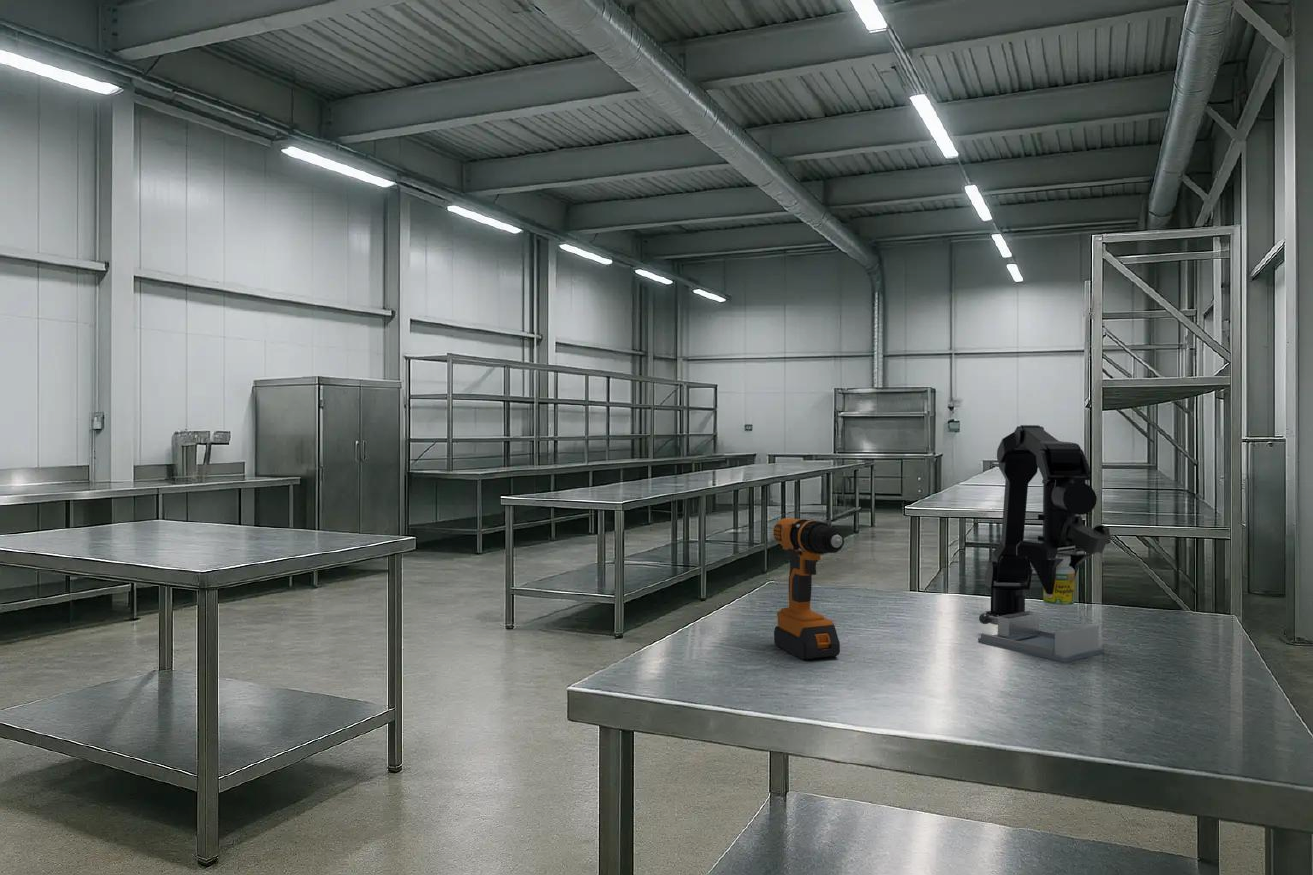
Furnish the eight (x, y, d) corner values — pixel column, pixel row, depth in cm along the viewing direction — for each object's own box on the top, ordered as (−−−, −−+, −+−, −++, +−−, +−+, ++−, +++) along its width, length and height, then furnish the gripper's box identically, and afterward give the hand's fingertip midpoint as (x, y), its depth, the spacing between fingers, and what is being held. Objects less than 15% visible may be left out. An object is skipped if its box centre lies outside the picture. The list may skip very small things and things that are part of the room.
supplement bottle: (1063, 602, 169) (1064, 552, 169) (1080, 608, 164) (1081, 557, 164) (1037, 603, 169) (1037, 553, 168) (1053, 609, 163) (1054, 557, 163)
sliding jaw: (964, 631, 178) (964, 609, 178) (994, 625, 183) (995, 604, 183) (1008, 641, 169) (1008, 618, 169) (1039, 635, 175) (1039, 612, 175)
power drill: (860, 668, 154) (862, 525, 153) (823, 671, 151) (824, 526, 151) (802, 639, 174) (803, 513, 174) (768, 642, 172) (769, 514, 171)
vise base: (978, 642, 173) (978, 615, 173) (1017, 633, 180) (1018, 608, 180) (1064, 662, 158) (1064, 633, 158) (1104, 652, 166) (1104, 625, 166)
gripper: (1072, 516, 154) (1070, 605, 154) (1128, 510, 165) (1127, 594, 165) (1014, 510, 163) (1013, 594, 164) (1071, 506, 174) (1070, 585, 174)
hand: (1058, 592), depth 166 cm, fingers closed on supplement bottle, 5 cm apart
